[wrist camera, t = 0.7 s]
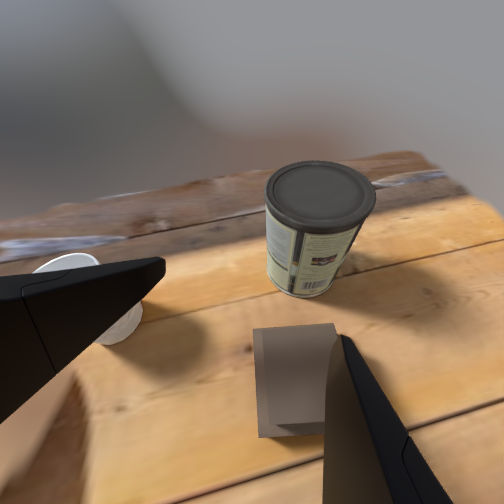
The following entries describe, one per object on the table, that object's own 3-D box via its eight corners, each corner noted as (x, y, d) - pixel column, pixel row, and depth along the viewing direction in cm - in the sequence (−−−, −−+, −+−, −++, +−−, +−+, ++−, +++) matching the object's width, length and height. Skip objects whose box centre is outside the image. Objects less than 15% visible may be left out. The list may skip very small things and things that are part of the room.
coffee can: (302, 231, 35) (318, 149, 23) (350, 273, 29) (402, 192, 18) (252, 260, 32) (243, 183, 20) (296, 313, 26) (317, 246, 15)
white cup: (156, 294, 29) (113, 254, 21) (132, 353, 25) (66, 330, 17) (107, 291, 30) (48, 251, 22) (75, 347, 25) (-15, 323, 17)
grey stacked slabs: (353, 427, 19) (381, 436, 14) (259, 433, 19) (257, 443, 15) (327, 330, 25) (341, 313, 20) (254, 336, 25) (250, 320, 20)
